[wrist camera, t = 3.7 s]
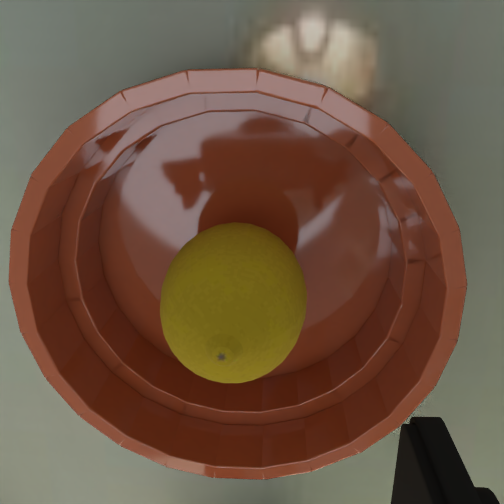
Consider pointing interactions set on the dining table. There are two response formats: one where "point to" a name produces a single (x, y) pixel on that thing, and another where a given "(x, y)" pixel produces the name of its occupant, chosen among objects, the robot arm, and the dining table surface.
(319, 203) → the fruit bowl
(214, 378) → the lemon
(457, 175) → the dining table surface
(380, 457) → the dining table surface
